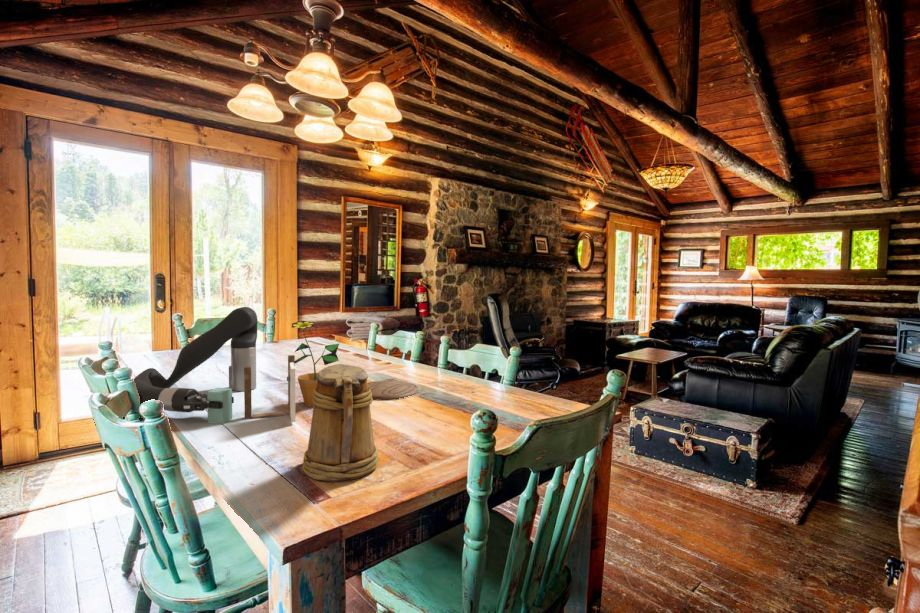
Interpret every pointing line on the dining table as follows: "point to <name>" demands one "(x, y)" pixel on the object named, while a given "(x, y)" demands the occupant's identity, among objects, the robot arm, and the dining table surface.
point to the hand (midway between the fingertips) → (227, 402)
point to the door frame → (248, 394)
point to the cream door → (292, 391)
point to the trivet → (392, 389)
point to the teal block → (225, 412)
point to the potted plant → (310, 380)
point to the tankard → (341, 426)
